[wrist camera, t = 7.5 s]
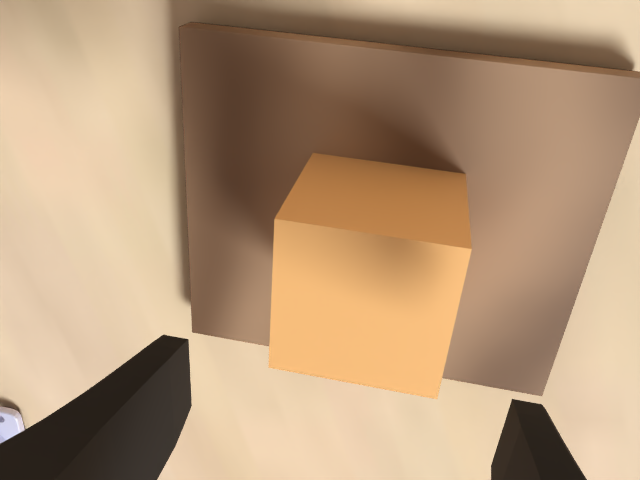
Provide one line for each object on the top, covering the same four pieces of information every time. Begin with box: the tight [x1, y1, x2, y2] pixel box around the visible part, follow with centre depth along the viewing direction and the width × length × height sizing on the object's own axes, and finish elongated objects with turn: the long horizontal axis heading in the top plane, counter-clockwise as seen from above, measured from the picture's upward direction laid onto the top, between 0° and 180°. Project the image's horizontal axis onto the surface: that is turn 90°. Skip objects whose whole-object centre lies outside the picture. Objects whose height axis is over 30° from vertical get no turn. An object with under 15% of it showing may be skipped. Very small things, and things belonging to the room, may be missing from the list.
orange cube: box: [269, 153, 472, 399], centre depth 18 cm, size 5×5×5 cm
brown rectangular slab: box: [179, 22, 640, 396], centre depth 19 cm, size 14×12×5 cm
